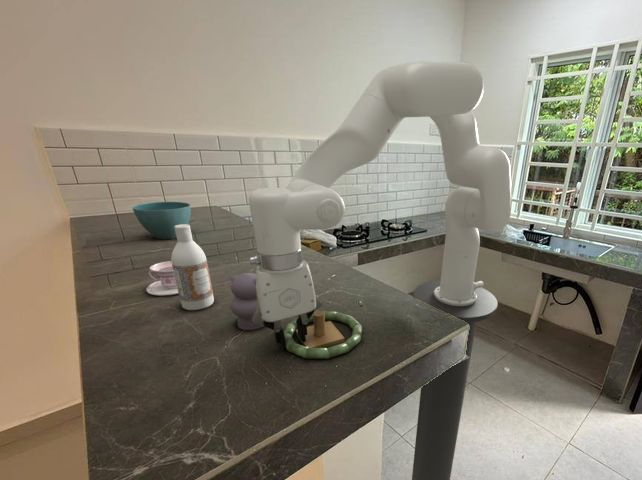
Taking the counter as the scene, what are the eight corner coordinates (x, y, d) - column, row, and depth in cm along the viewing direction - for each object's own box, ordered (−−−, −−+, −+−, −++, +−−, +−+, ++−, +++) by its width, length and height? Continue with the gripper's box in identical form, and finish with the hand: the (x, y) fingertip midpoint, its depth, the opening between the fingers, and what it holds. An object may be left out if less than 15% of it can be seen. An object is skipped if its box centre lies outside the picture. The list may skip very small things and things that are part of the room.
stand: (330, 324, 75) (329, 301, 73) (344, 341, 69) (344, 317, 67) (296, 333, 71) (293, 309, 69) (307, 352, 65) (306, 327, 62)
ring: (342, 311, 81) (342, 304, 80) (375, 345, 68) (375, 337, 68) (274, 328, 72) (273, 320, 71) (296, 370, 60) (296, 361, 59)
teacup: (201, 276, 96) (197, 256, 93) (197, 292, 86) (192, 271, 83) (151, 281, 91) (146, 260, 88) (141, 299, 81) (135, 277, 79)
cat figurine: (279, 316, 77) (274, 269, 72) (261, 334, 70) (254, 283, 65) (246, 311, 78) (240, 265, 74) (225, 328, 71) (216, 278, 66)
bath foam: (194, 313, 76) (176, 231, 68) (175, 306, 79) (156, 226, 71) (220, 302, 82) (206, 225, 74) (202, 295, 84) (187, 220, 77)
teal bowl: (134, 235, 128) (126, 204, 123) (186, 228, 141) (180, 199, 136) (149, 246, 117) (140, 212, 112) (203, 237, 130) (197, 206, 125)
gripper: (234, 274, 52) (253, 365, 59) (331, 256, 60) (337, 338, 68) (228, 260, 58) (245, 344, 65) (317, 245, 66) (323, 322, 73)
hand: (292, 340), depth 66 cm, fingers open, 3 cm apart
